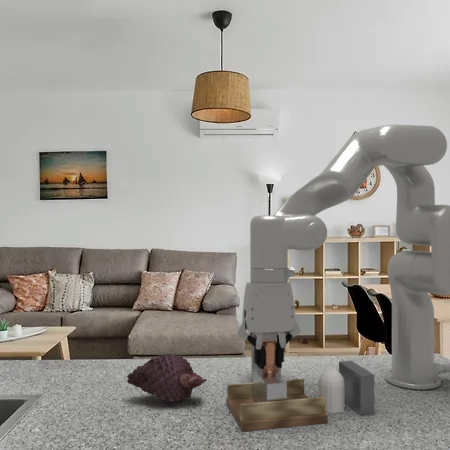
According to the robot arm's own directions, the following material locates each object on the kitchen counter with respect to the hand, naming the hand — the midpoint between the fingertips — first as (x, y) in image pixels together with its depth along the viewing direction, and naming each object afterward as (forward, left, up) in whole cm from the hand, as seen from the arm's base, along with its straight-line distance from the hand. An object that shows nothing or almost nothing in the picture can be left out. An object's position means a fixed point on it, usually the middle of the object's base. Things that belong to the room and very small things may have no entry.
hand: (269, 365), depth 101 cm
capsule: (-14, 0, -10) cm, 17 cm away
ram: (0, 0, -8) cm, 8 cm away
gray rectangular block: (-19, 0, -10) cm, 21 cm away
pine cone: (+19, -12, -10) cm, 25 cm away
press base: (-1, 0, -10) cm, 10 cm away
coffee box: (-6, -20, -10) cm, 23 cm away
